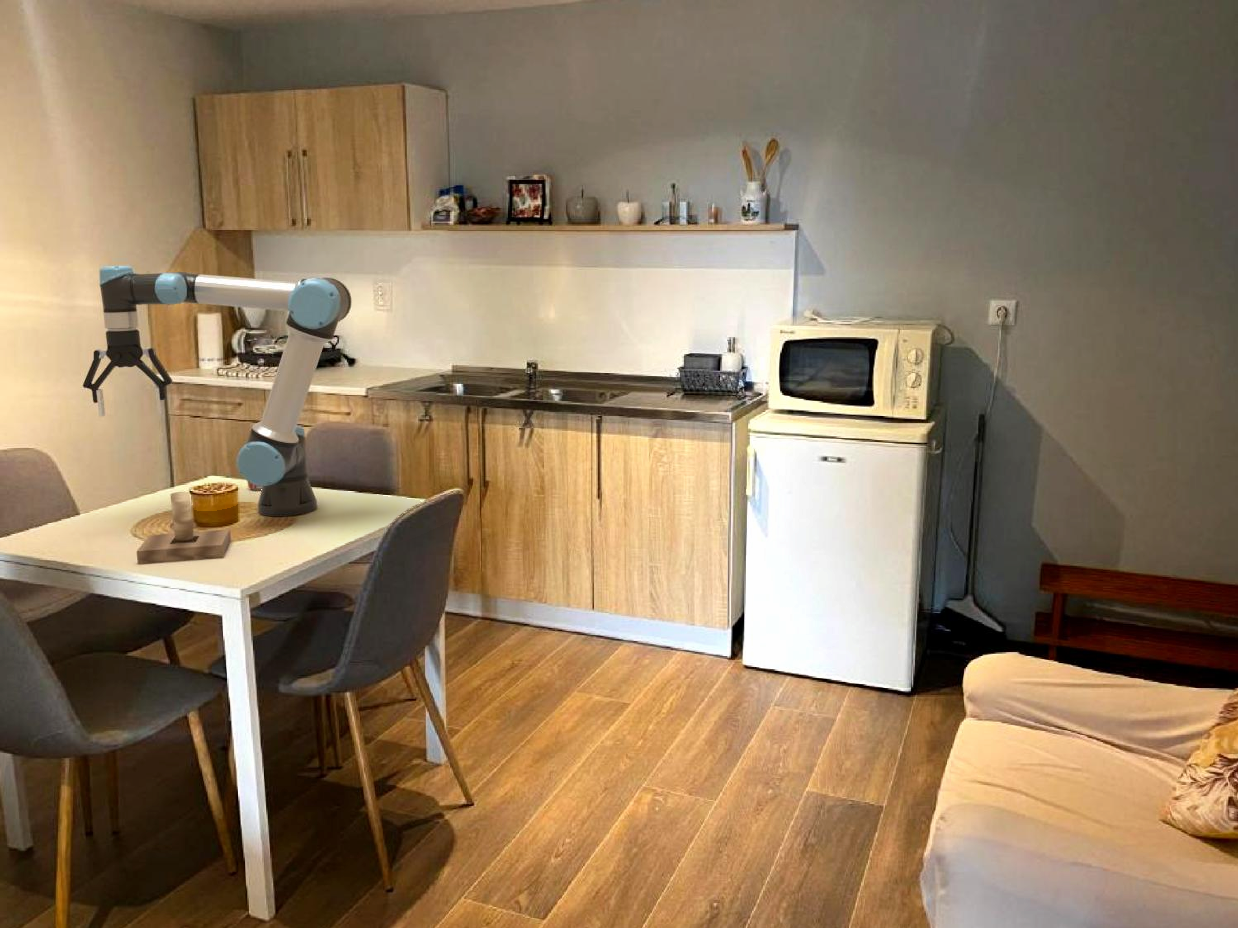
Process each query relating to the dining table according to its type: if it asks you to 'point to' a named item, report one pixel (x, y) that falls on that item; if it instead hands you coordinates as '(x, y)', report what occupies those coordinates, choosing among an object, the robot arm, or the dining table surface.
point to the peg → (182, 517)
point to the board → (184, 547)
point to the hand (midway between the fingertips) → (131, 414)
